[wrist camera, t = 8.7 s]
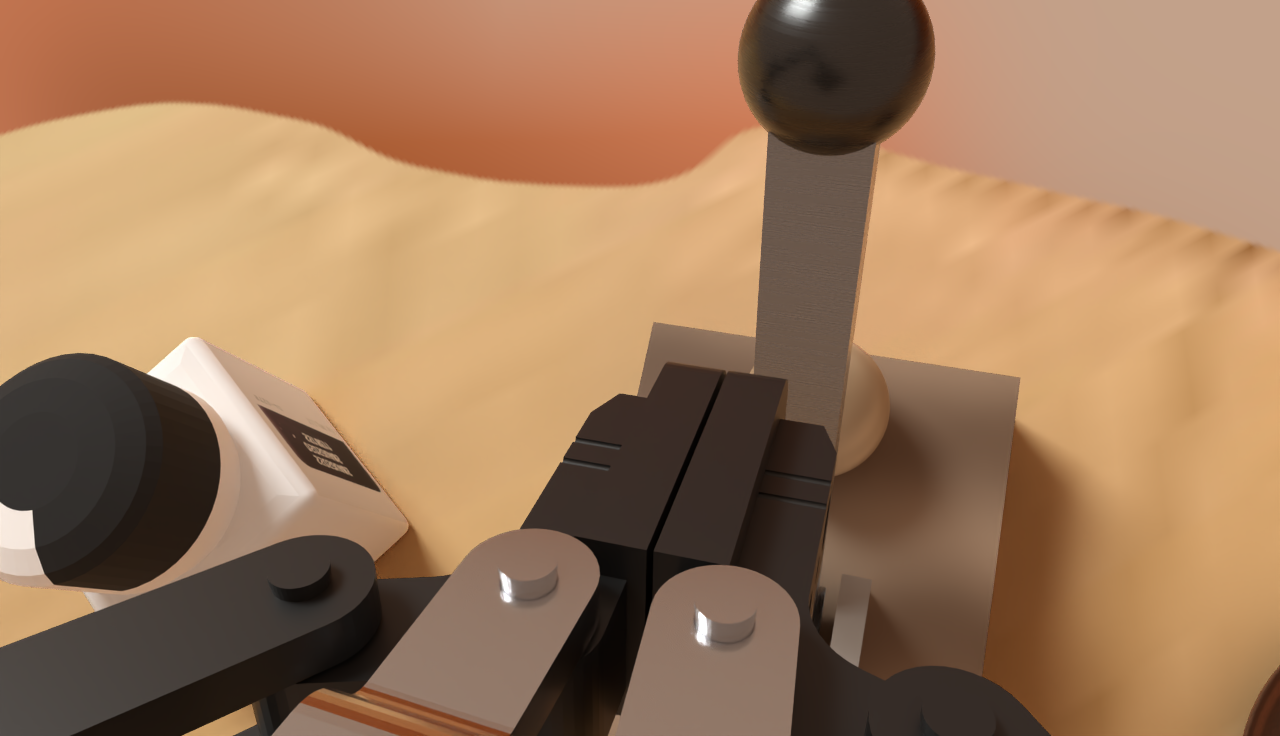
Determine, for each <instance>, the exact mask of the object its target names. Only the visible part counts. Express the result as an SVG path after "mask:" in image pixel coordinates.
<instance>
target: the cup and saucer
mask: <svg viewBox="0 0 1280 736" xmlns="http://www.w3.org/2000/svg"><path fill="white" fill-rule="evenodd" d="M1243 736H1280V666H1279V667H1278V668H1277V670H1276V671H1275V672H1274V673H1273V674H1272V676H1271V677H1270V678H1269V680H1268V681H1267V683H1266V684H1265V686H1264V687H1263V689H1262V691H1261V692H1260V694H1259V696H1258V698H1257V700H1256V702H1255V704H1254V706H1253V708H1252V710H1251V713H1250V715H1249V718H1248V721H1247V724H1246V727H1245V730H1244V734H1243Z"/></svg>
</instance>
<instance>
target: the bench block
mask: <svg viewBox="0 0 1280 736" xmlns="http://www.w3.org/2000/svg"><path fill="white" fill-rule="evenodd" d="M755 344H756V338H755V337H748V336H742V335H735V334H728V333H722V332H715V331H709V330H702V329H695V328H689V327H682V326H676V325H669V324H662V323H656V322H654V323H653V327H652V332H651V336H650V341H649V345H648V350H647V354H646V359H645V363H644V368H643V372H642V377H641V381H640V386H639V390H638V395H637V396H639V397H645V398H647V397H648V395H649V393H650V391H651V389H652V387H653V385H654V384H655V382H656V380H657V378H658V376H659V374H660V372H661V370H662V368H663V367H664V365H665V363H666V362H675V363H682V364H689V365H695V366H702V367H708V368H715V369H722V370H725V371H726V375H727V373H728V371H736V372H743V373H750V374H754V360H755ZM1019 384H1020V378H1019V377H1012V376H1006V375H999V374H992V373H986V372H979V371H973V370H966V369H959V368H953V367H946V366H940V365H933V364H926V363H920V362H913V361H907V360H900V359H893V358H887V357H880V356H874V355H868V354H867V353H866V352H865V351H864V350H863V349H862V348H860V347H859V346H857V345H856V344H854V343H853V345H852V352H851V360H850V367H849V374H848V381H847V389H846V396H845V403H844V410H843V418H842V425H841V432H840V439H839V447H838V454H837V461H836V468H835V476H834V483H833V490H832V497H831V505H830V512H829V519H828V526H827V534H826V541H825V548H824V555H823V563H822V570H821V577H820V584H819V586H822V587H826V594H825V601H824V607H823V613H822V620H821V626H820V632H819V635H820V636H821V637H822V638H823V640H824V641H825V642H826V643H827V644H828V645H829V646H830V647H831V648H832V649H833V650H834V651H835V652H836V653H837V654H839V655H840V656H841V657H843V658H844V659H845V660H847V661H848V662H850V663H852V664H853V665H855V666H857V667H859V668H861V669H862V670H864V671H866V672H868V673H871V674H873V675H875V676H877V677H879V678H881V679H883V680H887V679H888V678H890V677H891V676H893V675H894V674H896V673H899V672H901V671H903V670H906V669H910V668H914V667H920V666H946V667H951V668H957V669H961V670H965V671H968V672H971V673H974V674H976V675H979V676H981V677H982V673H983V666H984V658H985V650H986V642H987V634H988V627H989V619H990V611H991V603H992V595H993V588H994V580H995V572H996V564H997V556H998V549H999V541H1000V533H1001V525H1002V517H1003V509H1004V502H1005V494H1006V486H1007V478H1008V470H1009V463H1010V455H1011V447H1012V439H1013V431H1014V424H1015V416H1016V408H1017V400H1018V392H1019ZM619 720H620V715H616V716H615V718H614V721H613V723H612V726H611V729H610V731H609V734H608V736H615V735H616V731H617V727H618V724H619Z"/></svg>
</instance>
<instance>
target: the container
mask: <svg viewBox="0 0 1280 736" xmlns="http://www.w3.org/2000/svg"><path fill="white" fill-rule="evenodd" d="M408 526H409V524H408V522H407V520H406V518H405V517H404V516H403V514H402V513H401V512H400V510H399V509H398V508H397V507H396V505H395V504H394V503H393V502H392V500H391V499H390V498H389V497H388V495H387V494H386V493H385V491H384V490H383V489H382V488H381V486H380V485H379V484H378V483H377V481H376V480H375V479H374V477H373V476H372V475H371V474H370V472H369V471H368V470H367V469H366V467H365V466H364V465H363V464H362V462H361V461H360V460H359V458H358V457H357V456H356V455H355V453H354V452H353V451H352V450H351V448H350V447H349V446H348V445H347V443H346V442H345V441H344V439H343V438H342V437H341V436H340V434H339V433H338V432H337V431H336V429H335V428H334V427H333V425H332V424H331V423H330V422H329V420H328V419H327V418H326V417H325V415H324V414H323V413H322V412H321V410H320V409H319V408H318V406H317V405H316V404H315V403H314V401H313V400H312V399H311V398H310V396H309V395H308V394H307V392H305V391H304V390H302V389H300V388H298V387H296V386H294V385H292V384H290V383H288V382H286V381H284V380H282V379H280V378H278V377H276V376H274V375H272V374H270V373H268V372H266V371H264V370H262V369H260V368H258V367H256V366H254V365H252V364H250V363H248V362H246V361H244V360H242V359H240V358H238V357H236V356H235V355H233V354H231V353H229V352H227V351H225V350H223V349H221V348H219V347H217V346H215V345H213V344H211V343H209V342H207V341H205V340H203V339H201V338H198V337H189V338H187V339H186V340H184V341H183V342H182V343H181V344H180V345H179V346H178V347H176V348H175V349H174V350H173V351H172V352H171V353H170V354H169V355H167V356H166V357H165V358H164V359H163V360H162V361H161V362H160V363H159V364H157V365H156V366H155V367H154V368H153V369H152V370H151V371H150V372H148V373H147V374H146V373H143V372H141V371H139V370H136V369H134V368H131V367H129V366H126V365H124V364H122V363H119V362H117V361H114V360H112V359H109V358H107V357H104V356H99V355H95V354H84V353H75V354H65V355H60V356H56V357H52V358H49V359H46V360H44V361H41V362H38V363H36V364H34V365H32V366H30V367H28V368H27V369H25V370H23V371H21V372H20V373H18V374H16V375H15V376H14V377H12V378H11V379H9V380H8V381H6V382H5V383H4V384H2V385H1V386H0V580H2V581H5V582H7V583H10V584H14V585H19V586H24V587H36V588H47V589H58V590H70V591H81V592H83V593H84V594H85V596H86V598H87V599H88V601H89V603H90V604H91V606H92V607H93V609H94V611H95V612H96V611H99V610H101V609H104V608H107V607H109V606H112V605H114V604H117V603H120V602H122V601H125V600H128V599H130V598H133V597H136V596H138V595H141V594H144V593H146V592H149V591H151V590H154V589H157V588H159V587H162V586H165V585H167V584H170V583H173V582H175V581H178V580H181V579H183V578H186V577H189V576H191V575H194V574H196V573H199V572H202V571H204V570H207V569H210V568H212V567H215V566H218V565H220V564H223V563H226V562H228V561H231V560H234V559H236V558H239V557H241V556H244V555H247V554H249V553H252V552H255V551H257V550H260V549H263V548H265V547H268V546H271V545H273V544H276V543H279V542H282V541H285V540H288V539H292V538H297V537H301V536H310V535H330V536H338V537H342V538H346V539H349V540H351V541H353V542H356V543H357V544H359V545H360V546H362V547H363V548H365V549H366V550H367V552H368V553H369V554H370V555H371V557H372V559H373V561H374V562H375V561H376V560H377V559H378V558H379V557H380V556H381V555H382V554H383V553H385V552H386V551H387V550H388V549H389V548H390V547H391V546H392V545H393V544H394V543H395V542H397V541H398V540H399V539H400V538H401V537H402V536H403V535H404V534H405V533H406V532H407V530H408Z"/></svg>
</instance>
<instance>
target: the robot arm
mask: <svg viewBox="0 0 1280 736" xmlns="http://www.w3.org/2000/svg"><path fill="white" fill-rule="evenodd" d="M787 397H788V379H783V378H776V377H770V376H763V375H756V374H750V373H743V372H736V371H728V373H727V375H726V371H725V370H722V369H715V368H708V367H702V366H695V365H689V364H682V363H675V362H666V363H665V365H664V367H663V368H662V370H661V372H660V374H659V376H658V378H657V380H656V382H655V384H654V385H653V387H652V389H651V391H650V393H649V395H648V397H647V398H645V397H639V396H633V395H626V394H618V395H617V396H615V397H614V398H612V399H611V400H609V401H608V402H606V403H605V404H603V405H602V406H600V407H598V408H597V409H595V410H594V411H592V412H591V413H590V415H589V416H588V418H587V420H586V421H585V423H584V425H583V426H582V428H581V430H580V431H579V433H578V434H577V436H576V441H575V442H573V443H572V444H571V446H570V448H569V449H568V451H567V453H566V454H565V456H564V459H563V463H561V462H560V464H559V466H558V467H557V469H556V471H555V472H554V474H553V476H552V477H551V479H550V480H549V482H548V484H547V485H546V487H545V489H544V490H543V492H542V494H541V495H540V497H539V499H538V500H537V502H536V503H535V505H534V507H533V508H532V510H531V512H530V513H529V515H528V517H527V518H526V520H525V522H524V523H523V525H522V526H521V528H520V530H514V531H509V532H506V533H502V534H499V535H497V536H494V537H492V538H489V539H488V540H486V541H484V542H482V543H480V544H479V545H478V546H476V547H475V548H474V549H473V550H471V552H470V553H469V554H468V555H467V556H466V557H465V558H464V559H463V561H462V562H461V563H460V564H459V566H458V567H457V568H456V570H455V571H454V572H453V573H452V574H451V575H446V576H437V577H420V578H395V579H377V575H376V569H375V564H374V561H373V559H372V557H371V555H370V554H369V553H368V552H367V550H366V549H365V548H363V547H362V546H360V545H359V544H357V543H356V542H353V541H351V540H349V539H346V538H342V537H338V536H330V535H310V536H301V537H297V538H292V539H288V540H285V541H282V542H279V543H276V544H273V545H271V546H268V547H265V548H263V549H260V550H257V551H255V552H252V553H249V554H247V555H244V556H241V557H239V558H236V559H234V560H231V561H228V562H226V563H223V564H220V565H218V566H215V567H212V568H210V569H207V570H204V571H202V572H199V573H196V574H194V575H191V576H189V577H186V578H183V579H181V580H178V581H175V582H173V583H170V584H167V585H165V586H162V587H159V588H157V589H154V590H151V591H149V592H146V593H144V594H141V595H138V596H136V597H133V598H130V599H128V600H125V601H122V602H120V603H117V604H114V605H112V606H109V607H107V608H104V609H101V610H99V611H96V612H93V613H91V614H88V615H85V616H83V617H80V618H77V619H75V620H72V621H69V622H67V623H64V624H62V625H59V626H56V627H54V628H51V629H48V630H46V631H43V632H40V633H38V634H35V635H32V636H30V637H27V638H24V639H22V640H19V641H17V642H14V643H11V644H9V645H6V646H3V647H1V648H0V736H182V735H184V734H186V733H188V732H191V731H193V730H195V729H197V728H199V727H202V726H204V725H206V724H208V723H210V722H213V721H215V720H217V719H219V718H221V717H224V716H226V715H228V714H230V713H232V712H234V711H237V710H239V709H241V708H243V707H245V706H248V705H250V704H252V706H253V710H254V714H255V717H256V721H257V725H255V726H253V727H251V728H249V729H247V730H245V731H242V732H240V733H238V734H236V735H234V736H608V734H609V731H610V729H611V726H612V723H613V721H614V718H615V716H616V715H620V720H619V724H618V727H617V731H616V735H615V736H1051V735H1050V734H1049V733H1048V732H1047V731H1046V730H1045V729H1044V728H1043V727H1042V726H1041V724H1040V723H1039V722H1038V721H1037V720H1036V719H1035V718H1034V717H1033V716H1032V715H1031V714H1030V713H1029V712H1028V710H1027V709H1026V708H1025V707H1024V706H1023V705H1022V704H1021V703H1020V702H1019V701H1018V700H1017V699H1015V698H1014V697H1013V696H1012V695H1011V694H1010V693H1008V692H1007V691H1006V690H1004V689H1003V688H1001V687H1000V686H998V685H997V684H995V683H993V682H991V681H990V680H988V679H986V678H983V677H981V676H979V675H976V674H974V673H971V672H968V671H965V670H961V669H957V668H951V667H946V666H920V667H914V668H910V669H906V670H903V671H901V672H899V673H896V674H894V675H893V676H891V677H890V678H888V679H887V680H883V679H881V678H879V677H877V676H875V675H873V674H871V673H868V672H866V671H864V670H862V669H861V668H859V667H857V666H855V665H853V664H852V663H850V662H848V661H847V660H845V659H844V658H843V657H841V656H840V655H839V654H837V653H836V652H835V651H834V650H833V649H832V648H831V647H830V646H829V645H828V644H827V643H826V642H825V641H824V640H823V638H822V637H821V636H820V635H819V633H818V631H817V629H816V628H815V626H814V624H813V621H812V618H811V616H812V609H813V605H814V599H815V594H816V589H817V582H818V578H819V573H820V567H821V562H822V556H823V551H824V543H825V536H826V529H827V522H828V514H829V507H830V500H831V492H832V485H833V478H834V471H835V463H836V456H837V452H836V450H835V448H834V446H833V444H832V442H831V440H830V438H829V435H828V433H827V431H826V429H825V427H824V426H821V425H815V424H809V423H803V422H796V421H790V420H785V416H786V407H787Z"/></svg>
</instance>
